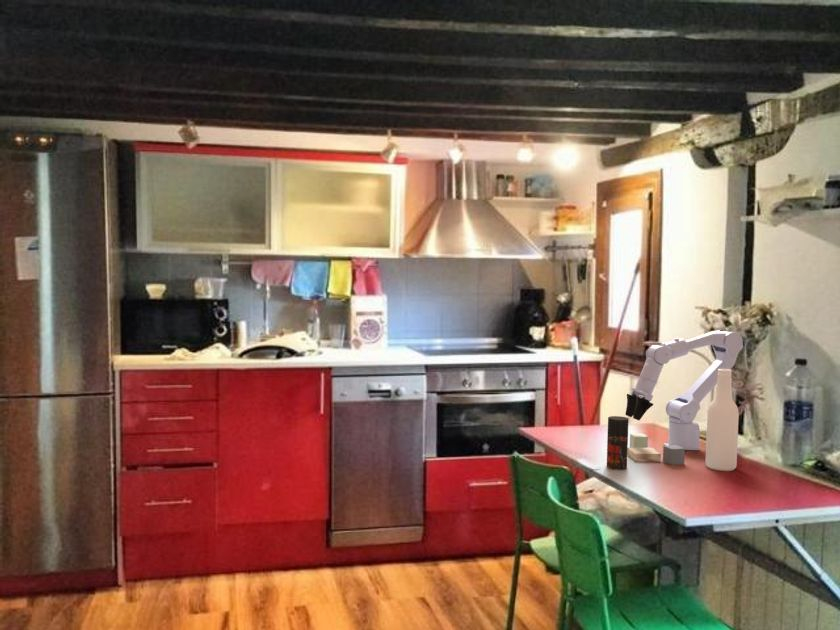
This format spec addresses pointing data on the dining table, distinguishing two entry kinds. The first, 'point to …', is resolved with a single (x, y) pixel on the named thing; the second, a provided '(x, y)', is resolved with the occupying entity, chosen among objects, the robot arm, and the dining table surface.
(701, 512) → the dining table surface
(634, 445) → the sage cube
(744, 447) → the dining table surface
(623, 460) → the deodorant
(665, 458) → the grey cube
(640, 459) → the birch slab
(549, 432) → the dining table surface
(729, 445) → the alcohol
